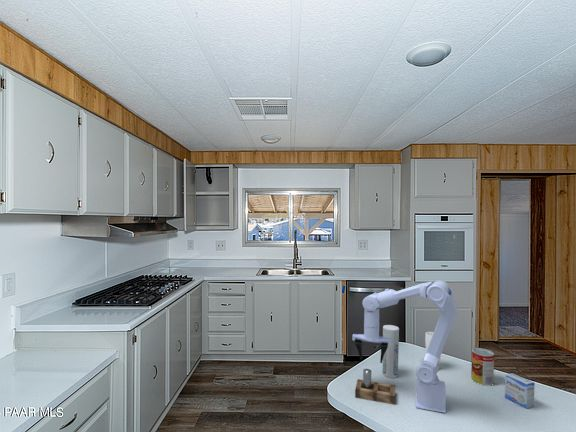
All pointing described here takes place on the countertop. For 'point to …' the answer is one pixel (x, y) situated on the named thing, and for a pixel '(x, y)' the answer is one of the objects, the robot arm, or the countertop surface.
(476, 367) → the canned food
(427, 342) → the drinking glass
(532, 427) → the countertop surface
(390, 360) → the spray can
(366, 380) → the peg
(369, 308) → the robot arm
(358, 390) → the hole block
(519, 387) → the medicine box
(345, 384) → the countertop surface
